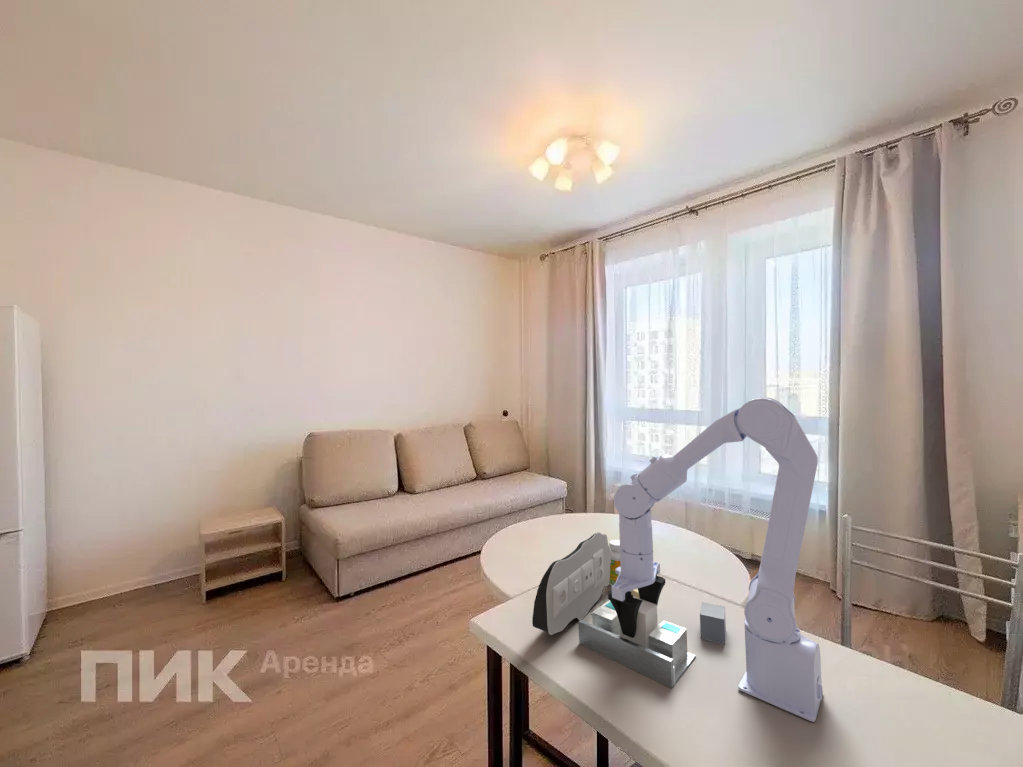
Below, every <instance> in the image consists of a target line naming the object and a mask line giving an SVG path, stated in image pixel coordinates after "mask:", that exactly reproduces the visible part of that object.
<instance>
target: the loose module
mask: <svg viewBox="0 0 1023 767" xmlns="http://www.w3.org/2000/svg"><path fill="white" fill-rule="evenodd" d="M634 598H636V597H634ZM637 599H639V598H637ZM640 600H642V599H640ZM658 625H659V624H658V604H657V605H656V604H653V603H651V602H648V601H645V600H642V603H641V605H640V608H639V611H638V616H637V627H636V634H635V637H634V638H631V637H629V636H626V635H624V634H623V633H622V630H621V626H620V637H623V638H625V639H627V640H630V641H632V642H634V643H637V644H639V645H641V646H644V647H646V648H648V649H649V636H648V635H649V634H650V633H651V632H652V631H653V630H654V629H655V628H656V627H657V626H658Z"/></svg>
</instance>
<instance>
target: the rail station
mask: <svg viewBox="0 0 1023 767" xmlns="http://www.w3.org/2000/svg"><path fill="white" fill-rule="evenodd" d="M591 617H592V618H591V619H592V623H590V622H587V621H585V620H583V619H582V620H578V644H579V645H582V646H583V647H585V648H587V649H589V650H592V651H593V652H596V653H597V654H600V655H602V656H603V657H606V658H608V659H610V660H613V661H614V662H616V663H618V664H620V665H622V666H625V667H627V668H629V669H631V670H633V671H635V672H637V673H638V674H641V675H643V676H645V677H648V678H650V679H651V680H654V681H656V682H658V683H659V684H662V685H665V686H666V687H668V688H670V689H673V687H674V686H675V685H676V684H677V682H678V681H679V680H680V679H681V677H682V676H683V674H684V673H685V672H686V671H687V669H688V668H689V667H690V665H691V664H692V663H693V662H694V660H695V659H696V656H697V655H696V654H693V653H692V652H688V635H687V634H688V633H687V632H688V631H687V628H685V627H684V626H679V625H677V624H675V623H672V622H669V621H666V620H663V621H661V623H659V624H658V626H657V627H656V628H655V629H654V630H653V631H652V632H651V633H650V634H649V635H648V636H649V649H648V648H646V647H644V646H641V645H639V644H637V643H634V642H632V641H630V640H627V639H625V638H623V637H620V623H619V619H618V616H617V613H616V611H615V609H614V607H613V605H612V603H611V601H610V600H609V599H608V600H606V602H604V603H603V604H602V605H600V606H599V607H597V608H596V609H594V610H593V611H591Z"/></svg>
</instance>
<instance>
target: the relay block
mask: <svg viewBox="0 0 1023 767" xmlns="http://www.w3.org/2000/svg"><path fill="white" fill-rule="evenodd" d="M726 620H727V619H726V606H724V605H719V604H714V603H709V602H705V601H701V606H700V611H699V624H700V625H699V628H700V639H701V640H704V641H709V642H713V643H718V644H722V645H726V640H727V639H726V638H727V627H726V624H727V623H726Z"/></svg>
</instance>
